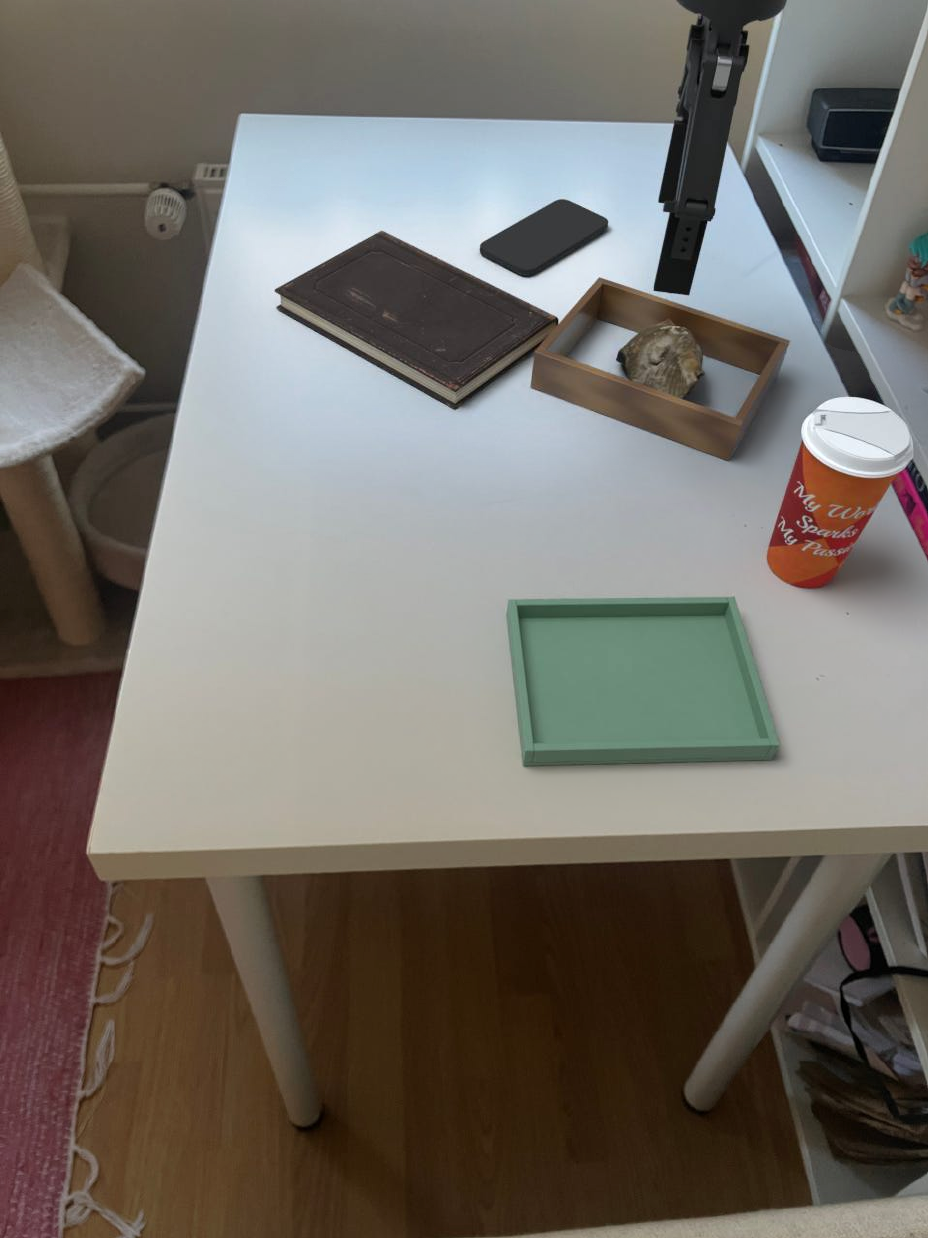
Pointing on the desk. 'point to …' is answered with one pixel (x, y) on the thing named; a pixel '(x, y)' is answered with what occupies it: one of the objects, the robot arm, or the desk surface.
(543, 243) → the phone
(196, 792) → the desk surface
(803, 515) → the paper cup
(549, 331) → the hardcover book
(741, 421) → the rectangular frame
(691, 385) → the fossilized seashell
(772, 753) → the tray
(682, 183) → the robot arm
